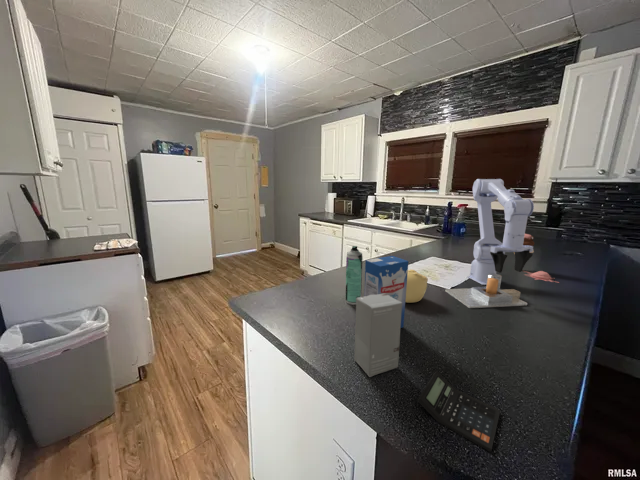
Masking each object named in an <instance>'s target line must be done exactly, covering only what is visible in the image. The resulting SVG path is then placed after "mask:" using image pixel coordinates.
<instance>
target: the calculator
mask: <svg viewBox="0 0 640 480" xmlns="http://www.w3.org/2000/svg"><path fill="white" fill-rule="evenodd" d="M416 401H417V402H418V403H419V404H420V405H421V407H423V409H425V410H426V412H427V413H428V414H429V415H431V416H432V418H433V419H434V420H435V421H436V422H437V423H439V424H441V425H442V426H444V427H446V428H447V429H450V430H452V431H453V432H455V433H456V434H458V435H460V436H462V437H464V438H465V439H467V440H468V441H470V442H472V443H474V444H475V445H477V446H479V447H481V448H483V449H484V450H486V451H487V452H490V453H492V450H493V445H494V441H495V438H496V432H497V427H498V423H499V419H500V414H501V409H499V408H497V407H494V406H493V405H490V404H489V403H486V402H484V401H482V400H481V399H478V398H476V397H474V396H471V395H469V394H467V393H465V392H463V391H461V390H458V389H456V388H455V387H454V386H453V385H452V384H451V383H450V382H449V381H448V380H447V379H446V378H445V377H444V376H443V375H442V374H441V373H440V372H439V371H438V370H436V371H435V372H434V373H433V374H432V376H431V377H430V379H429V381H428V382H427V384H426V385H425V387H424V389H422V392H421V394H420V395H419V397H418V398H417V400H416Z"/></svg>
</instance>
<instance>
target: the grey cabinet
mask: <svg viewBox="0 0 640 480" xmlns="http://www.w3.org/2000/svg"><path fill="white" fill-rule="evenodd" d="M401 312H402V302H400V301H398V300H396V299H394V298H392V297H391V296H389V295H387V294H385V293H384V294H378V295H368V296H364V295H363V296H361V297H358V298H356V305H355V326H354V327H355V329H354V330H355V331H354V334H355V335H354V361H355V362H356V363H357V365H359V367H360V368H361V369H362V370H363V371H364V372H365V374H366V376H368V377H369V378H371V377H373V376H376V375H378V374H382V373H385V372H389V371H391V370H394V369H397V368H398V367H399V360H400V358H399V357H400V356H399V355H400V341H401Z"/></svg>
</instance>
